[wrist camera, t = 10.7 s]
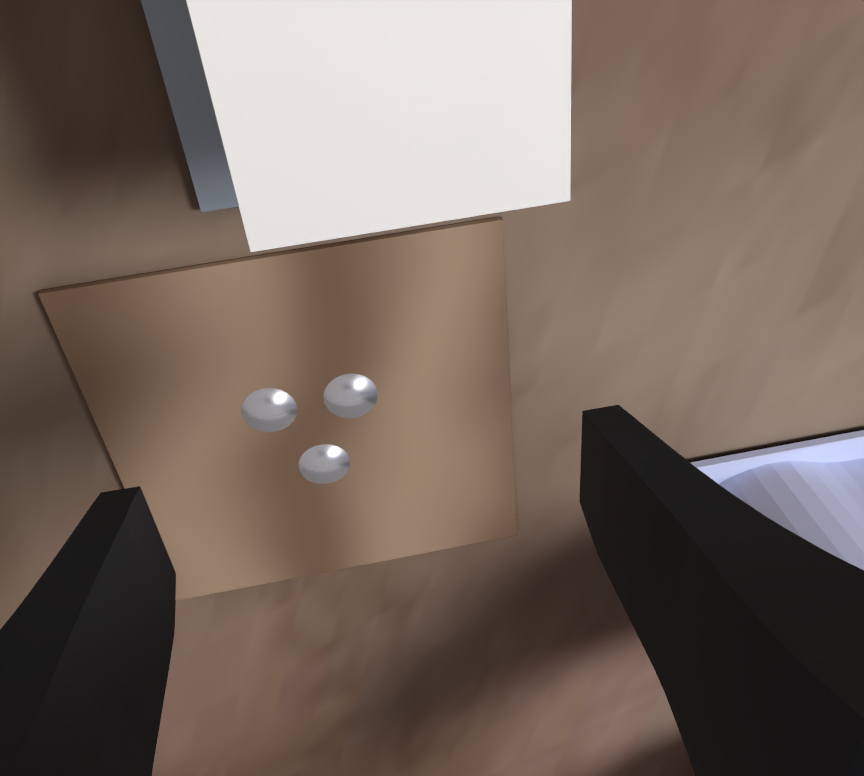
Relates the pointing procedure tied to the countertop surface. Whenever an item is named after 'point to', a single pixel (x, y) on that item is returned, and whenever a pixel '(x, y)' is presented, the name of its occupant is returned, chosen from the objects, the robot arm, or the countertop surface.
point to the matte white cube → (387, 110)
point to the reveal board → (306, 401)
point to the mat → (191, 102)
